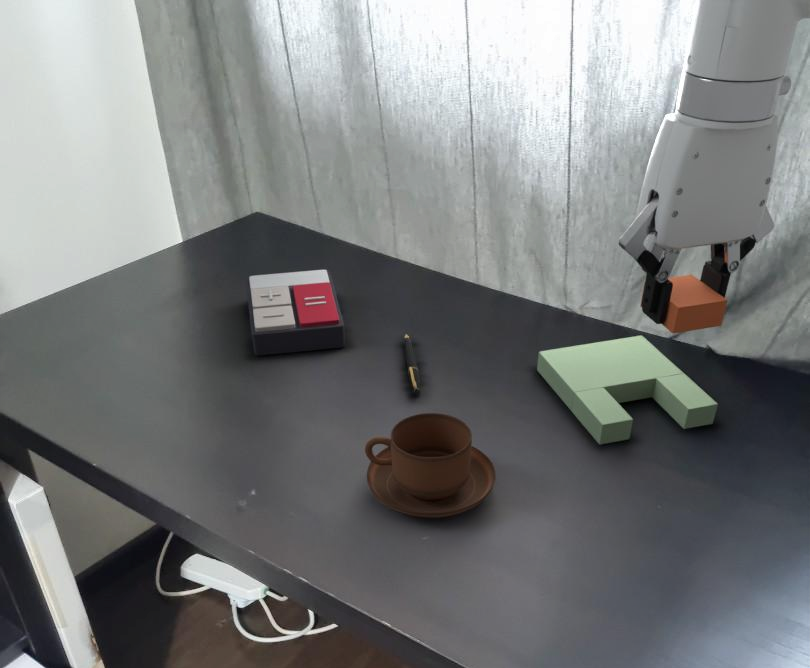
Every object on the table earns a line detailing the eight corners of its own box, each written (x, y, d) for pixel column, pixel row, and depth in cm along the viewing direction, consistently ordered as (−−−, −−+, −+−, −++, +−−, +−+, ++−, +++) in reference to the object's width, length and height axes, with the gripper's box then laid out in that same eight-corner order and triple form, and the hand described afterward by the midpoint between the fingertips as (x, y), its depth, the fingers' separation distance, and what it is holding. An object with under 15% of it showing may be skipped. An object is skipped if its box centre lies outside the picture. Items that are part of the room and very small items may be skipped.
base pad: (638, 353, 98) (641, 334, 96) (712, 423, 86) (718, 404, 85) (536, 370, 95) (538, 351, 94) (599, 444, 84) (602, 424, 82)
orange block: (686, 299, 80) (691, 274, 78) (721, 326, 76) (728, 300, 74) (639, 306, 79) (644, 281, 77) (672, 333, 74) (678, 307, 73)
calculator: (250, 328, 96) (244, 271, 107) (255, 361, 99) (249, 302, 110) (344, 319, 97) (329, 264, 108) (346, 351, 100) (331, 294, 111)
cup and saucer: (376, 536, 73) (373, 480, 69) (361, 459, 82) (357, 406, 78) (508, 522, 74) (512, 466, 70) (479, 447, 83) (481, 394, 79)
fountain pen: (401, 339, 102) (401, 327, 101) (411, 338, 102) (410, 327, 101) (412, 399, 91) (412, 387, 90) (422, 399, 91) (422, 387, 90)
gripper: (790, 79, 70) (736, 285, 82) (607, 95, 66) (579, 309, 78) (850, 99, 64) (783, 317, 76) (654, 119, 61) (616, 345, 73)
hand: (680, 311), depth 77 cm, fingers closed on orange block, 5 cm apart
